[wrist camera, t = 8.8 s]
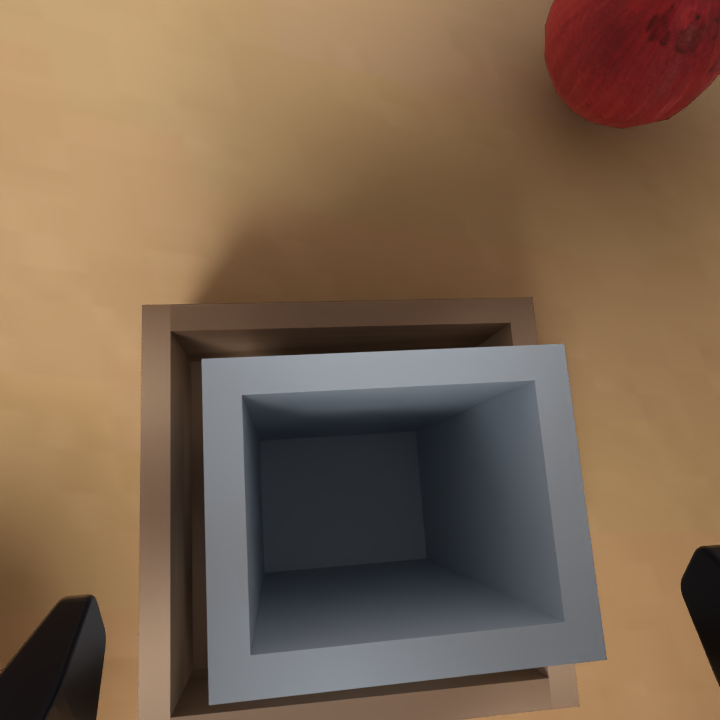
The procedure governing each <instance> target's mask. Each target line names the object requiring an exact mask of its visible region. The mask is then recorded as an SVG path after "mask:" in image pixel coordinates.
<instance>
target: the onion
mask: <svg viewBox="0 0 720 720" xmlns="http://www.w3.org/2000/svg"><path fill="white" fill-rule="evenodd" d="M545 61H546V65H547V69H548V72H549V75H550V77H551V80H552V83H553V85H554V88H555V91H556V93H557V94H558V95H559V96H560V97H561V99H562V100H563V101H564V102H565V103H566V105H567V106H568V107H569V108H570V109H571V110H572V111H573V112H575V113H577V114H578V115H580V116H582V117H583V118H585V119H587V120H588V121H591V122H593V123H595V124H600V125H606V126H611V127H616V128H628V127H633V126H638V125H643V124H647V123H652V122H657V121H662V120H666V119H669V118H671V117H672V116H673V115H675V114H676V113H678V112H679V111H681V110H682V109H684V108H685V107H686V106H688V105H689V104H690V103H691V102H692V101H693V100H694V99H695V98H696V97H698V96H699V95H700V94H701V93H702V92H703V91H704V90H705V89H706V88H707V87H709V86H710V85H711V83H712V82H713V81H714V80H715V78H716V77H717V76H718V75H719V74H720V0H554V2H553V4H552V6H551V9H550V12H549V15H548V18H547V21H546V24H545Z"/></svg>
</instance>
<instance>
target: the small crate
mask: <svg viewBox="0 0 720 720" xmlns="http://www.w3.org/2000/svg"><path fill="white" fill-rule="evenodd" d="M202 405H203V452H204V499H205V547H206V594H207V641H208V689H209V705H216V704H225V703H233V702H242V701H251V700H260V699H268V698H277V697H286V696H294V695H303V694H312V693H321V692H329V691H338V690H347V689H355V688H364V687H373V686H382V685H390V684H399V683H408V682H416V681H425V680H434V679H442V678H451V677H460V676H469V675H477V674H486V673H495V672H503V671H512V670H521V669H530V668H538V667H547V666H556V665H564V664H573V663H582V662H590V661H599V660H607V658H606V650H605V643H604V635H603V628H602V621H601V613H600V606H599V598H598V591H597V584H596V576H595V569H594V561H593V554H592V547H591V539H590V532H589V524H588V517H587V510H586V502H585V495H584V487H583V480H582V472H581V465H580V458H579V450H578V443H577V435H576V428H575V421H574V413H573V406H572V398H571V391H570V384H569V376H568V369H567V361H566V354H565V347H564V344H547V345H523V346H499V347H475V348H451V349H427V350H403V351H379V352H356V353H332V354H308V355H284V356H260V357H236V358H212V359H202Z"/></svg>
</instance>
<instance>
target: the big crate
mask: <svg viewBox="0 0 720 720" xmlns="http://www.w3.org/2000/svg"><path fill="white" fill-rule="evenodd" d="M523 345H538V342H537V333H536V325H535V316H534V307H533V299H532V297H531V298H479V299H428V300H377V301H325V302H274V303H223V304H172V305H142V362H141V465H140V567H139V669H138V720H461V719H470V718H479V717H488V716H497V715H506V714H515V713H524V712H533V711H542V710H551V709H560V708H569V707H578V706H579V697H578V689H577V680H576V671H575V663H573V664H564V665H556V666H547V667H538V668H530V669H521V670H512V671H503V672H495V673H486V674H477V675H469V676H460V677H451V678H442V679H434V680H425V681H416V682H408V683H399V684H390V685H382V686H373V687H364V688H355V689H347V690H338V691H329V692H321V693H312V694H303V695H294V696H286V697H277V698H268V699H260V700H251V701H242V702H233V703H225V704H216V705H209V689H208V641H207V594H206V547H205V499H204V452H203V405H202V359H212V358H236V357H260V356H284V355H308V354H332V353H356V352H379V351H403V350H427V349H451V348H475V347H499V346H523Z"/></svg>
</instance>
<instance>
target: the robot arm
mask: <svg viewBox="0 0 720 720" xmlns="http://www.w3.org/2000/svg"><path fill="white" fill-rule="evenodd" d="M681 592H682V596H683V598H684V601H685V603H686V606H687V608H688V611H689V613H690V616H691V618H692V621H693V623H694V626H695V628H696V630H697V633H698V635H699V638H700V640H701V643H702V645H703V648H704V650H705V653H706V655H707V658H708V660H709V663H710V665H711V667H712V670H713V672H714V675H715V677H716V679H717V682H718V684H719V686H720V545H710V546H701V547H699V548H697V549H696V551H695V552H694V554H693V556H692V558H691V560H690V562H689V564H688V566H687V568H686V570H685V573H684V575H683V577H682V579H681ZM105 644H106V635H105V628H104V625H103V621H102V618H101V614H100V611H99V607H98V604H97V601H96V598H95V597H94V596H93V595H77V596H67V597H64V598H62V599H61V600H59V601H58V602H57V604H56V605H55V606H54V607H53V609H52V610H51V611H50V612H49V614H48V615H47V616H46V617H45V618H44V620H43V621H42V622H41V623H40V625H39V626H38V627H37V628H36V630H35V631H34V632H33V633H32V635H31V636H30V637H29V638H28V639H27V641H26V642H25V643H24V644H23V646H22V647H21V648H20V649H19V651H18V652H17V653H16V654H15V656H14V657H13V658H12V659H11V660H10V662H9V663H8V664H7V665H6V667H5V668H4V669H3V670H2V672H1V673H0V720H96V716H97V708H98V701H99V693H100V685H101V677H102V669H103V661H104V653H105Z"/></svg>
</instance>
